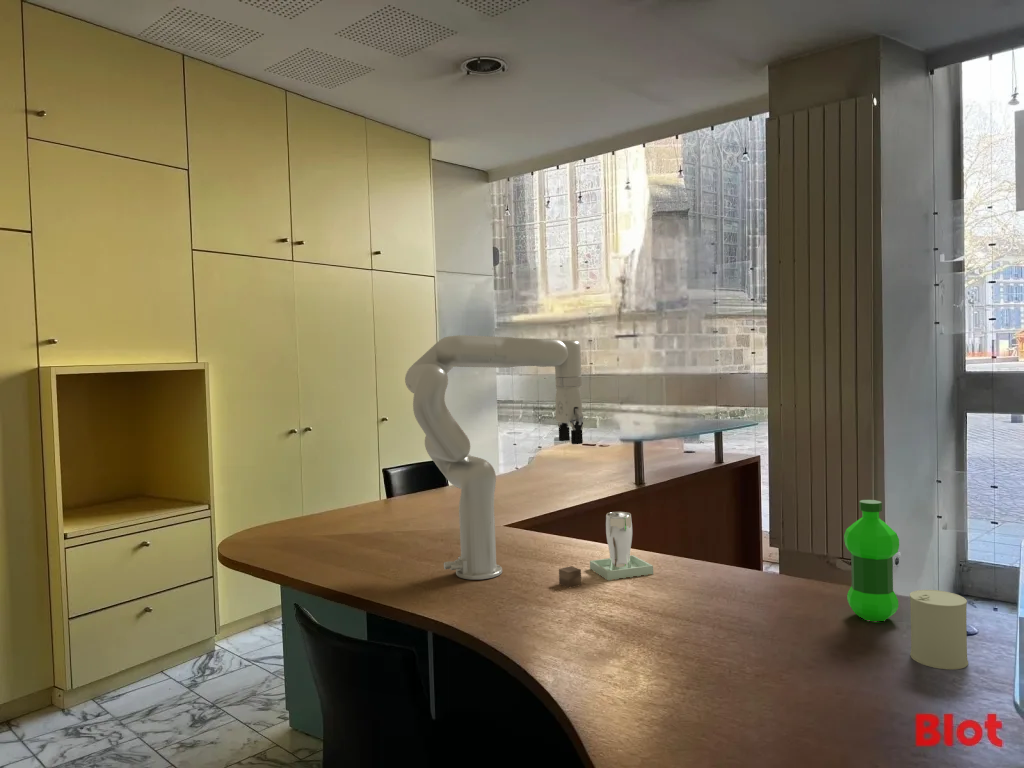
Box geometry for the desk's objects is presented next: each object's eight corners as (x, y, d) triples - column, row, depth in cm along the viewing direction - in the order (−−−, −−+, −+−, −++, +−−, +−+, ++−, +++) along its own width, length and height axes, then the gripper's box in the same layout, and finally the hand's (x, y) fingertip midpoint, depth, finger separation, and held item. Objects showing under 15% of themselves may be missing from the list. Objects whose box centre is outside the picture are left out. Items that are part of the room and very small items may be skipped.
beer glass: (632, 574, 192) (631, 517, 192) (606, 573, 194) (604, 517, 193) (634, 566, 199) (632, 511, 199) (608, 565, 201) (606, 511, 200)
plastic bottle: (898, 629, 149) (896, 508, 149) (842, 621, 155) (839, 504, 154) (902, 614, 158) (900, 499, 157) (849, 607, 164) (846, 495, 163)
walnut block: (568, 588, 184) (568, 572, 184) (559, 584, 188) (558, 568, 188) (581, 585, 187) (580, 569, 186) (571, 581, 190) (571, 566, 190)
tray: (607, 580, 189) (607, 571, 189) (590, 569, 200) (589, 560, 200) (653, 574, 193) (653, 565, 193) (633, 563, 204) (633, 555, 204)
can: (899, 651, 139) (898, 588, 139) (945, 647, 140) (944, 585, 140) (931, 671, 130) (930, 604, 130) (980, 667, 131) (979, 601, 130)
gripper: (546, 383, 219) (548, 440, 219) (567, 384, 202) (569, 446, 203) (569, 382, 221) (571, 438, 221) (592, 383, 204) (594, 444, 205)
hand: (570, 442), depth 212 cm, fingers open, 9 cm apart
